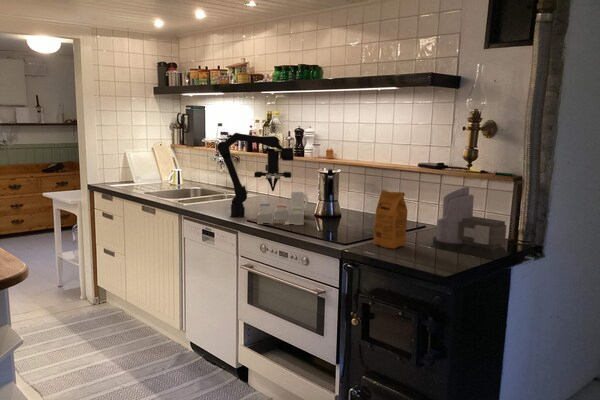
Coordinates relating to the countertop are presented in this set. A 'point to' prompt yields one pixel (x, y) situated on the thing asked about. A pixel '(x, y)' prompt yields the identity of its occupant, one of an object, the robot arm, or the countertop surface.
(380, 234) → the coffee package
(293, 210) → the key sage
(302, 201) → the mug
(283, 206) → the key terracotta
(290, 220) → the keypad
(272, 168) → the robot arm
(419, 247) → the countertop surface
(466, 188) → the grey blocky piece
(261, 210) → the key slate
